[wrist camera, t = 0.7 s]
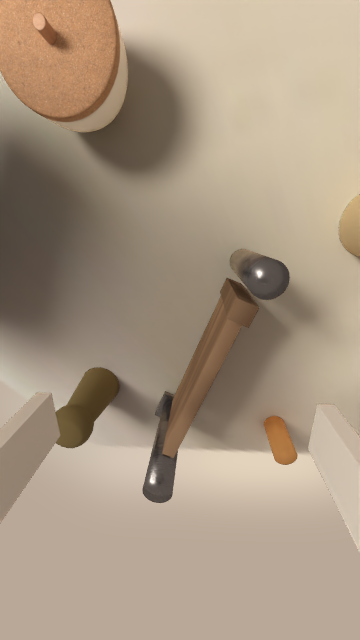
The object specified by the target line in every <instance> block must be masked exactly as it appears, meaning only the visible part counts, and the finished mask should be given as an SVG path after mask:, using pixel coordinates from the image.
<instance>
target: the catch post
mask: <svg viewBox="0 0 360 640" xmlns="http://www.w3.org/2000/svg"><path fill="white" fill-rule="evenodd" d="M264 427H265V430H266V433H267V437H268V440H269V443H270V446H271V449H272V453H273V456H274V459H275V461H276V462H278V463H280V464H283V465H288V464H291V463H293V462H294V461H295V460H296V459H297V453H296V450H295V448H294V445H293V443H292V441H291V438H290V436H289V434H288V431H287V429H286V426H285V424H284V422H283V420H282V419H281V418H280V417H277V416H272V417H269V418H267V419H266V420H265V422H264Z"/></svg>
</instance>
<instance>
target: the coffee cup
mask: <svg viewBox="0 0 360 640" xmlns="http://www.w3.org/2000/svg"><path fill="white" fill-rule="evenodd" d="M339 237H340V240H341V243H342V245H343V246H344V247H345V248H346V250H347V251H349V252H350V253H352V254H354V255H356V256H359V257H360V194H359V195H358V196H356V197H355V198H354V199H353V200H352V201H351V202H350V203H349V204H348V206H347V207H346V208H345V210H344V212H343V214H342V216H341V219H340V223H339Z"/></svg>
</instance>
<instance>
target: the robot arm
mask: <svg viewBox="0 0 360 640" xmlns="http://www.w3.org/2000/svg"><path fill="white" fill-rule="evenodd" d="M59 437H60V432H59V427H58V422H57V417H56V413H55V408H54V403H53V399H52V394H51V393H36V394H35V395H34V396H33V397H32V398H31V399H30V400H29V401H28V402H27V403H26V404H25V405H24V406H23V407H22V408H21V409H20V410H19V411H18V412H17V413H16V414H15V415H14V416H13V417H12V418H11V419H10V420H9V421H8V422H7V423H6V424H5V425H4V426H3V427H2V428H1V429H0V523H1V522H2V520H3V519H4V517H5V516H6V514H7V513H8V511H9V510H10V509H11V507H12V505H13V504H14V502H15V501H16V500H17V498H18V497H19V495H20V494H21V492H22V491H23V489H24V488H25V487H26V485H27V484H28V482H29V481H30V479H31V478H32V476H33V475H34V473H35V472H36V470H37V469H38V467H39V466H40V465H41V463H42V462H43V460H44V459H45V457H46V456H47V454H48V453H49V451H50V450H51V449H52V447H53V446H54V444H55V443H56V441H57V440H58V438H59ZM308 450H309V452H310V454H311V456H312V458H313V460H314V462H315V464H316V466H317V468H318V470H319V472H320V474H321V476H322V478H323V480H324V482H325V484H326V486H327V488H328V490H329V492H330V494H331V496H332V498H333V500H334V502H335V504H336V506H337V508H338V510H339V512H340V514H341V516H342V518H343V520H344V522H345V524H346V526H347V528H348V530H349V532H350V534H351V536H352V538H353V540H354V542H355V544H356V546H357V548H358V550H359V552H360V437H359V436H358V434H357V433H356V432H355V430H354V429H353V428H352V427H351V425H350V424H349V423H348V421H347V420H346V419H345V418H344V416H343V415H342V414H341V412H340V411H339V410H338V409H337V407H336V406H335V405H334V404H317V408H316V413H315V417H314V422H313V427H312V432H311V437H310V441H309V446H308Z"/></svg>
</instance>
